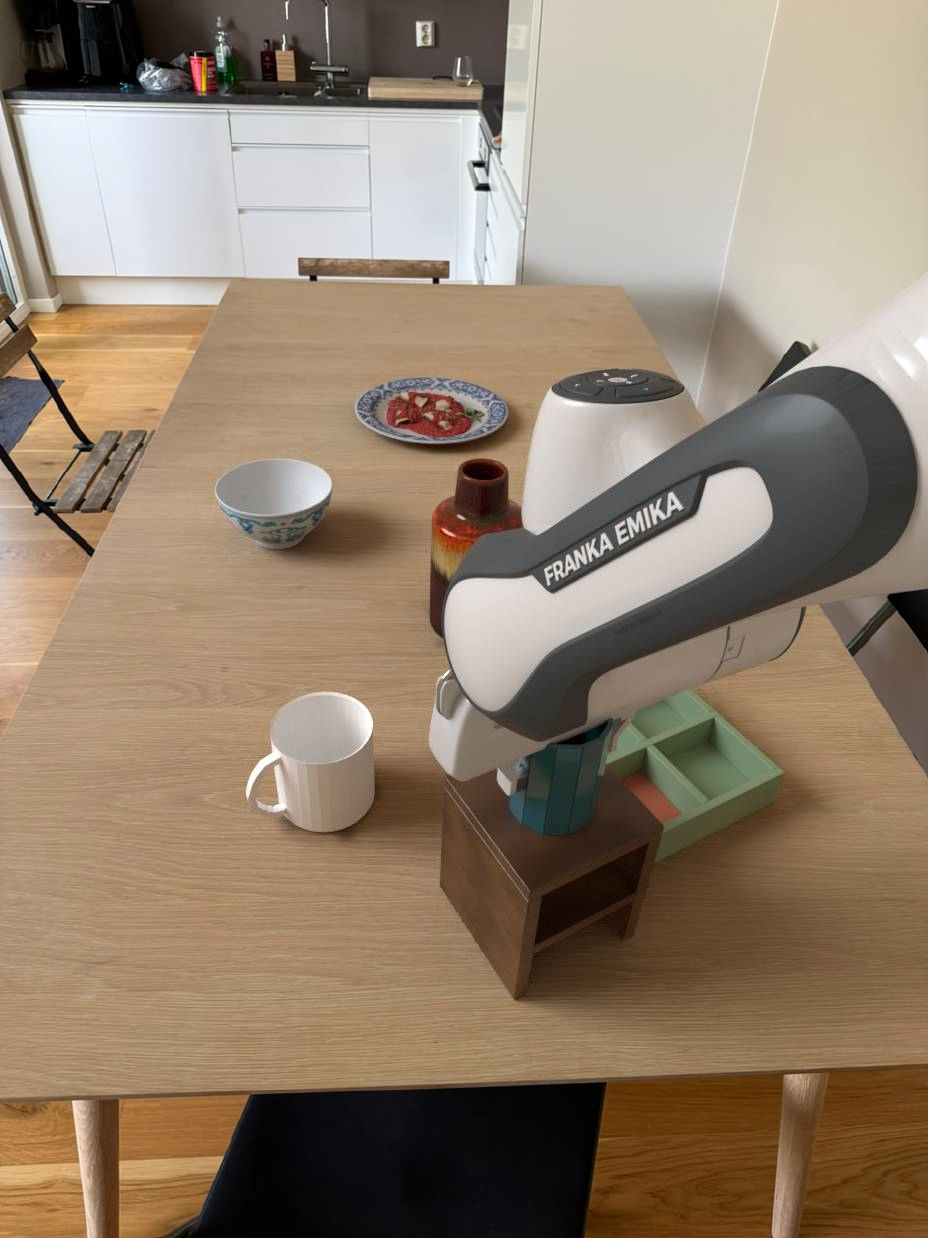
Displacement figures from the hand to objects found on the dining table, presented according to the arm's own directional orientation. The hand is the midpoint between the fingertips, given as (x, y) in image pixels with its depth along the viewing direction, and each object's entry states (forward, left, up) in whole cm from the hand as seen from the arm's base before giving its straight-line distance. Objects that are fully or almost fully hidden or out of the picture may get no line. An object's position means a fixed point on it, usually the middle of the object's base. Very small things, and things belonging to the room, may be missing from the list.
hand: (557, 766), depth 65 cm
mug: (+20, +12, -18) cm, 29 cm away
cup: (0, 0, -4) cm, 4 cm away
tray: (+8, -18, -18) cm, 26 cm away
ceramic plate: (+88, -38, -18) cm, 97 cm away
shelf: (0, 0, -18) cm, 18 cm away
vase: (+37, -16, -18) cm, 44 cm away
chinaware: (+65, -2, -18) cm, 67 cm away
